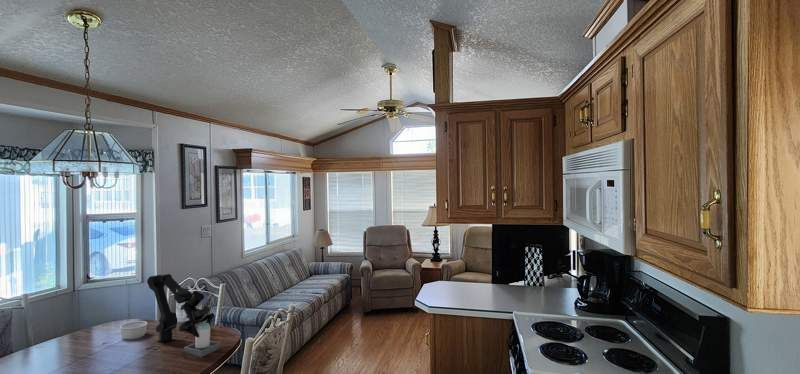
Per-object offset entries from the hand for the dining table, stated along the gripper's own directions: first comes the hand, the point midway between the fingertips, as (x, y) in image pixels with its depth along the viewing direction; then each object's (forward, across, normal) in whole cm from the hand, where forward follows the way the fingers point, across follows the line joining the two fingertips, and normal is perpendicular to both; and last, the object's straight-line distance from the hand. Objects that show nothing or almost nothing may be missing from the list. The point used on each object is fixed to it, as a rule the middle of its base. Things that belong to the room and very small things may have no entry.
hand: (204, 334), depth 202 cm
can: (+4, 0, +6) cm, 7 cm away
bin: (+5, 0, +7) cm, 9 cm away
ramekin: (-31, -4, +45) cm, 55 cm away
